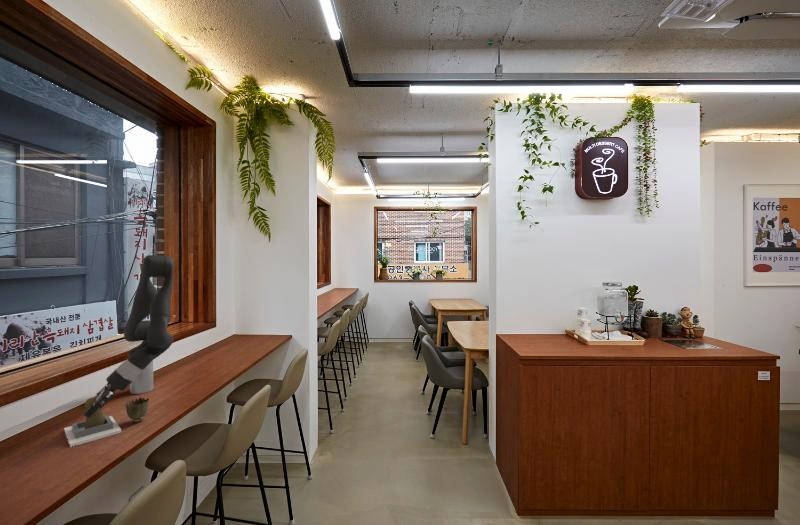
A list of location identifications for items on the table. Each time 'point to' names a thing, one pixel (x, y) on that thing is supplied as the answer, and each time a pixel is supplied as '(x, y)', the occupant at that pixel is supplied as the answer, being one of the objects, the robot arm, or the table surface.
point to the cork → (94, 415)
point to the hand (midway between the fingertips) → (87, 412)
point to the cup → (137, 409)
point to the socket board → (91, 431)
